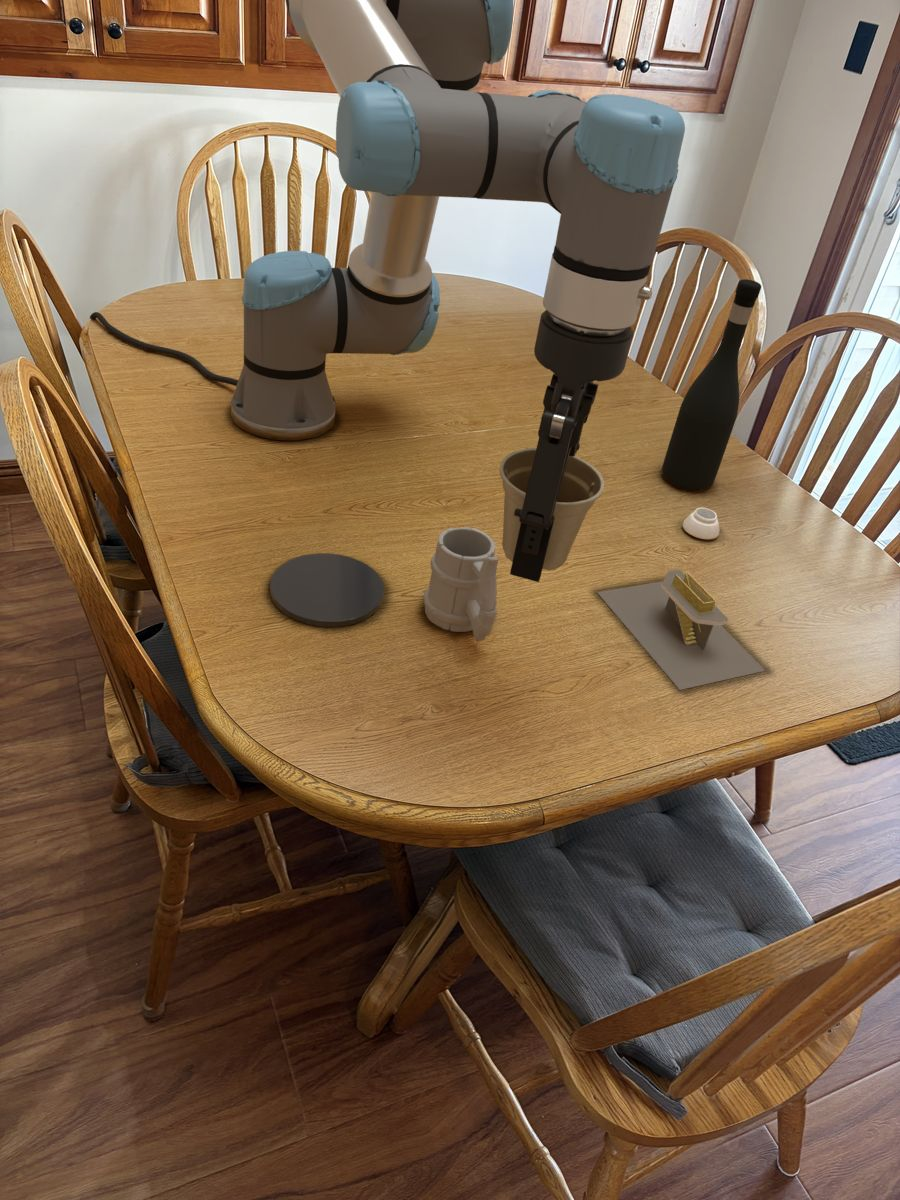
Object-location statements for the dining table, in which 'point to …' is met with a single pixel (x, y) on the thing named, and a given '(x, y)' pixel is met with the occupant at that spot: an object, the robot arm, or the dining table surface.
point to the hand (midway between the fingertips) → (535, 550)
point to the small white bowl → (702, 524)
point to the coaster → (326, 590)
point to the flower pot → (570, 508)
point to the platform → (681, 630)
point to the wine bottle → (710, 405)
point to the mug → (463, 582)
